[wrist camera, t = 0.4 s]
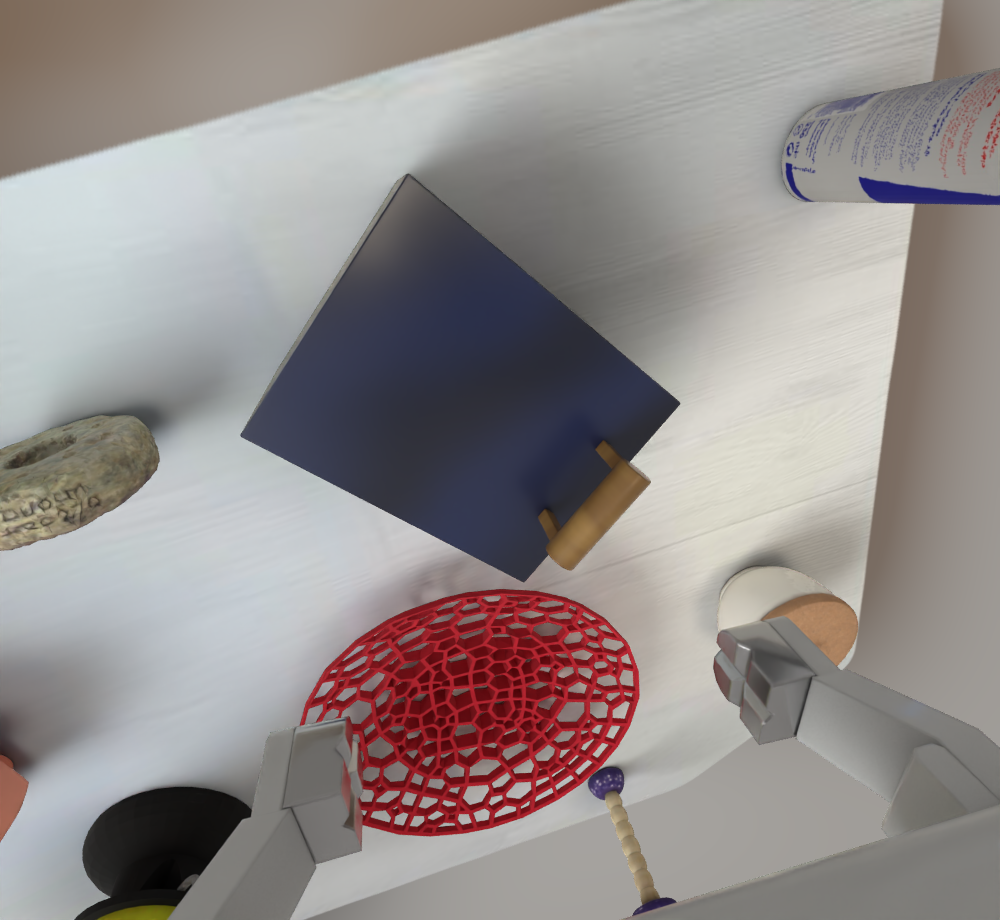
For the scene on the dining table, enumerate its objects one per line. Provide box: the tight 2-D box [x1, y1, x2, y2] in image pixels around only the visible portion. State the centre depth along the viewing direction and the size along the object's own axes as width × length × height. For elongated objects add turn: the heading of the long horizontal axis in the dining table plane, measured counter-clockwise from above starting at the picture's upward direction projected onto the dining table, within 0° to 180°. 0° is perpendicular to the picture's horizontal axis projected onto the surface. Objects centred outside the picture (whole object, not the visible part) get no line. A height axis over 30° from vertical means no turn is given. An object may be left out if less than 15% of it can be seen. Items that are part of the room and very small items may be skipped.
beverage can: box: [781, 68, 1000, 205], centre depth 29 cm, size 6×6×15 cm
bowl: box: [300, 589, 639, 836], centre depth 48 cm, size 29×30×5 cm
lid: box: [241, 174, 680, 582], centre depth 25 cm, size 18×14×5 cm
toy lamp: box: [588, 768, 676, 916], centre depth 54 cm, size 5×5×17 cm
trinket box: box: [717, 566, 858, 666], centre depth 48 cm, size 11×11×9 cm
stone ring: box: [0, 415, 160, 551], centre depth 29 cm, size 10×4×10 cm, turn 100°
